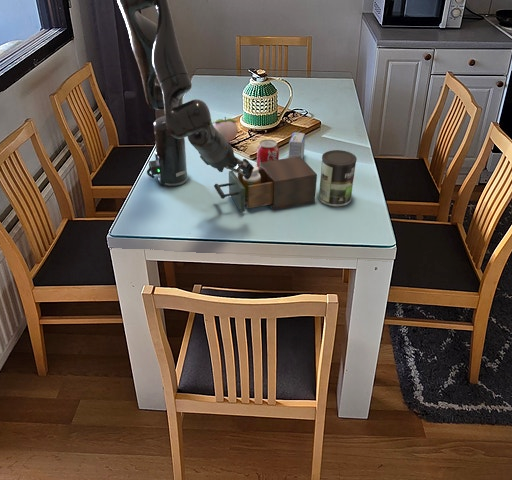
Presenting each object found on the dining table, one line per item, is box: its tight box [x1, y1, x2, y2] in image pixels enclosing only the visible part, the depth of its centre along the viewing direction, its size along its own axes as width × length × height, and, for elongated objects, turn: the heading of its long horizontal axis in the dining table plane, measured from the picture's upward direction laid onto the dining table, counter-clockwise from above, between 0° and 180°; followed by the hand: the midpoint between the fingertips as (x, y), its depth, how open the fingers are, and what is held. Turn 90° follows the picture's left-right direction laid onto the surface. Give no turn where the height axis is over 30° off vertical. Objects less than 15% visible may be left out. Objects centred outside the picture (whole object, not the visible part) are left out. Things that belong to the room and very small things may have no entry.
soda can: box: [256, 139, 280, 168], centre depth 186 cm, size 7×7×12 cm
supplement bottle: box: [243, 164, 261, 200], centre depth 173 cm, size 5×5×10 cm
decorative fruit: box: [212, 116, 239, 143], centre depth 207 cm, size 9×8×10 cm
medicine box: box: [288, 132, 306, 160], centre depth 197 cm, size 8×4×9 cm, turn 168°
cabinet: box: [259, 156, 318, 211], centre depth 177 cm, size 14×13×10 cm
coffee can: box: [318, 149, 358, 207], centre depth 175 cm, size 10×10×14 cm
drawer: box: [213, 168, 273, 213], centre depth 173 cm, size 18×12×8 cm, turn 110°
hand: (235, 172), depth 162 cm, fingers open, 8 cm apart
